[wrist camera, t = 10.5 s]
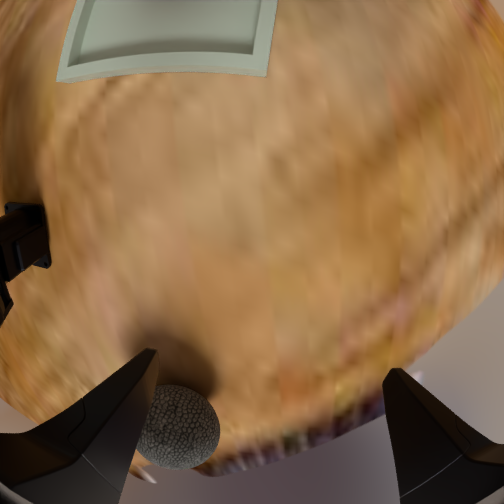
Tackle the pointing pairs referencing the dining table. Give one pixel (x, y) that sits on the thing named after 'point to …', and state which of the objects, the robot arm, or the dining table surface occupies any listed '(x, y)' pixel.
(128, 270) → the dining table surface
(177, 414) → the decorative ball
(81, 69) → the tray
